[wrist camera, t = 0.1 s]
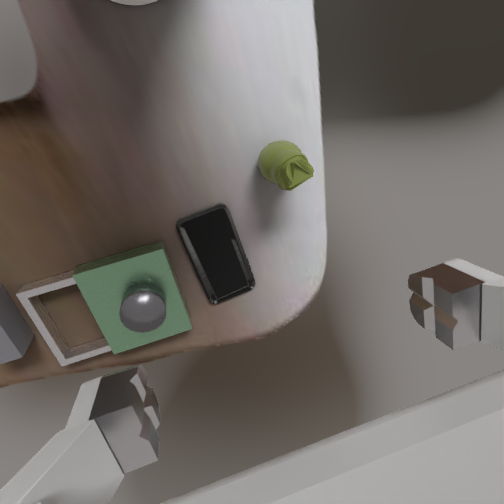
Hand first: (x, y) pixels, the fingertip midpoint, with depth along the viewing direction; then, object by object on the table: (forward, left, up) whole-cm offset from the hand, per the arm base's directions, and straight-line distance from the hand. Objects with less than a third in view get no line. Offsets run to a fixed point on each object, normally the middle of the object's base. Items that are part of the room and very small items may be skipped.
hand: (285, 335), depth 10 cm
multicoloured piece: (+18, -17, -39) cm, 46 cm away
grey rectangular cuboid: (+15, -31, -39) cm, 52 cm away
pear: (+4, +11, -39) cm, 41 cm away
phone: (+16, 0, -39) cm, 42 cm away
